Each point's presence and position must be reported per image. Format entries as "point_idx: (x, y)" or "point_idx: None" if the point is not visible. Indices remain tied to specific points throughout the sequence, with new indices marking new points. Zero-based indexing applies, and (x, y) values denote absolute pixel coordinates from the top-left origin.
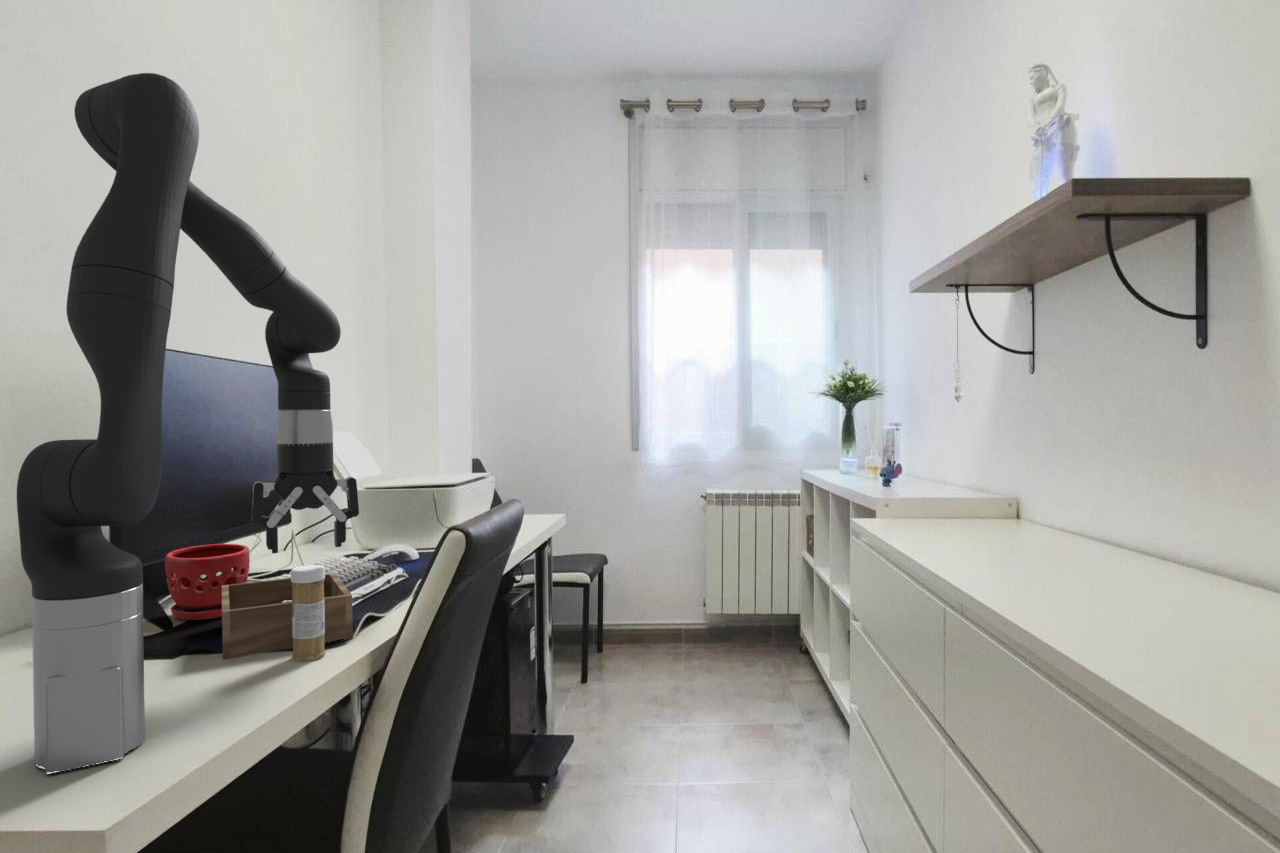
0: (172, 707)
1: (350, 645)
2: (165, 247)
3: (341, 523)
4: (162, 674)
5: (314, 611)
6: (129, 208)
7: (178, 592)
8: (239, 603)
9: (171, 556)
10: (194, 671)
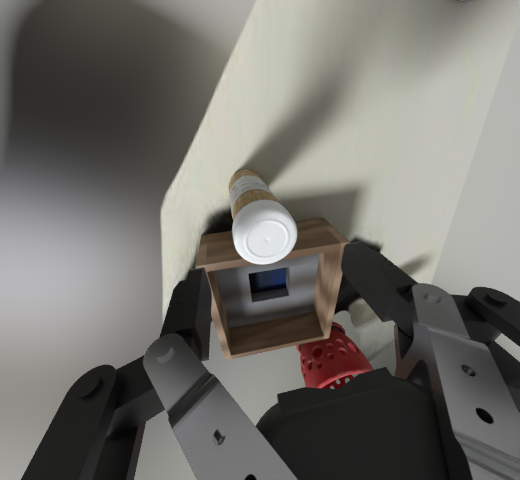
0: (386, 67)
1: (202, 211)
2: None
3: (176, 333)
4: (370, 195)
5: (245, 186)
6: None
7: (352, 341)
8: (307, 321)
9: None
10: (348, 191)
